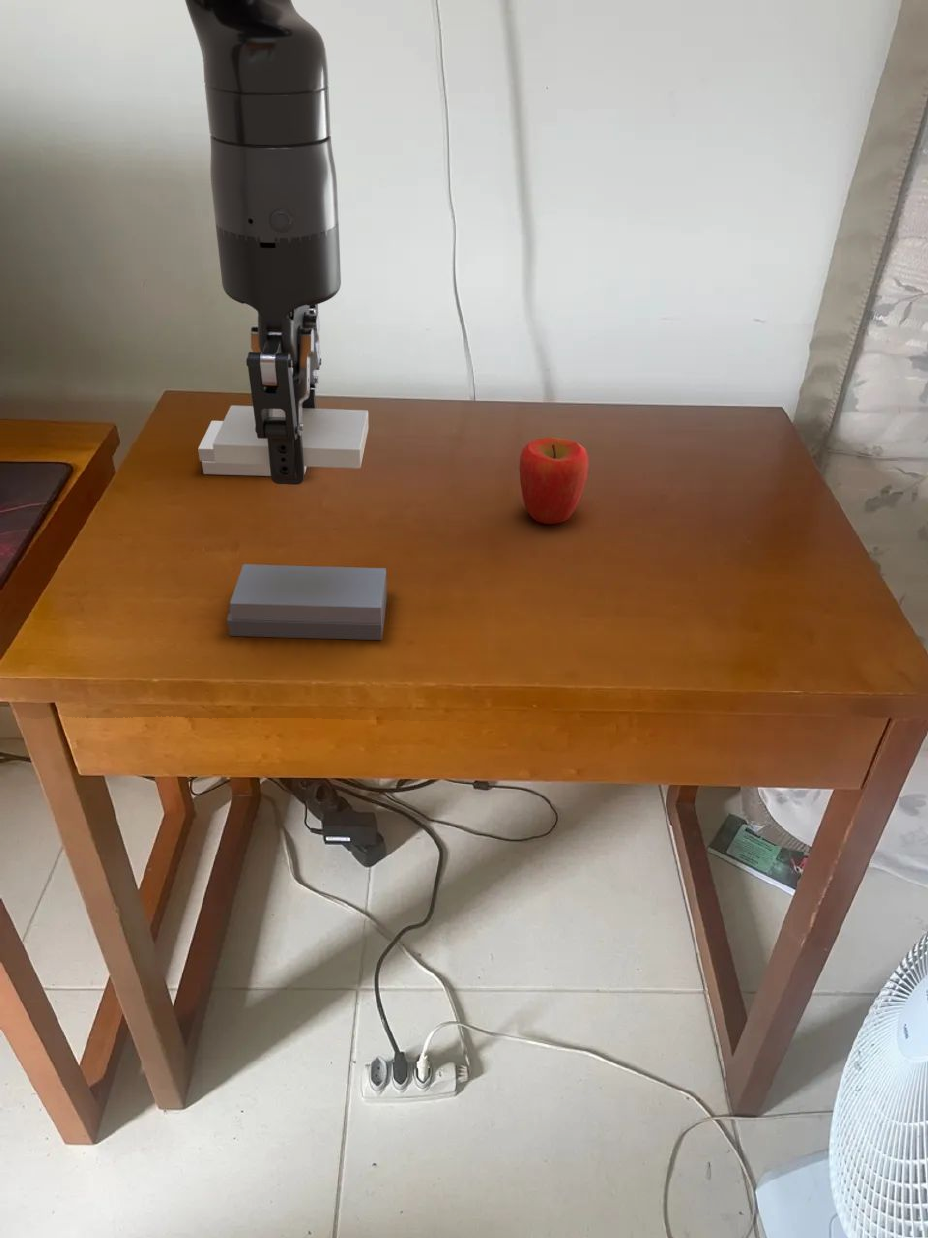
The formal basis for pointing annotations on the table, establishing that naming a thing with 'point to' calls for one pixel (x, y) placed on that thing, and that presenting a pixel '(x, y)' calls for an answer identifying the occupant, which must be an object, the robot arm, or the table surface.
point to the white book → (323, 438)
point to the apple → (552, 478)
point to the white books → (219, 468)
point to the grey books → (309, 602)
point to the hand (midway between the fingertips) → (295, 458)
